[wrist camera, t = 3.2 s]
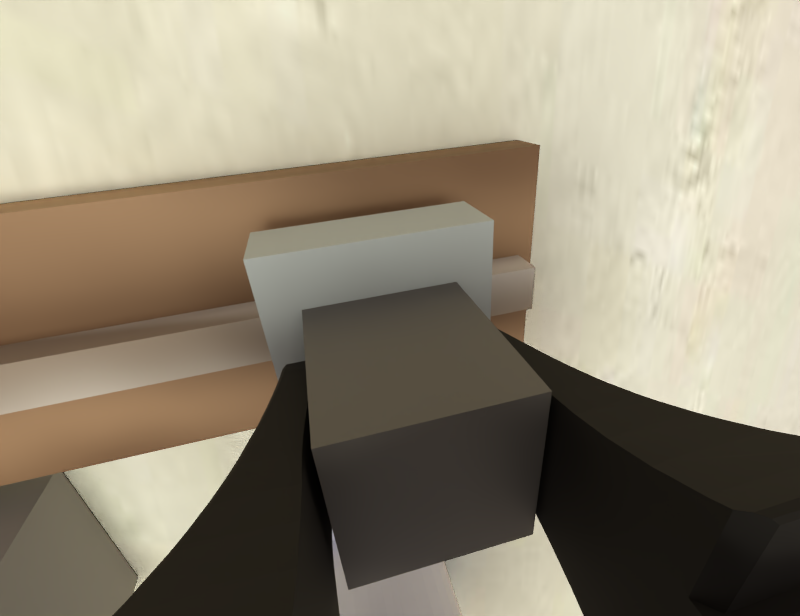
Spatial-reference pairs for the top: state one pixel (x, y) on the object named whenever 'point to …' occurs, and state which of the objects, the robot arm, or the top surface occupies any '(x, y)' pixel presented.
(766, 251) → the top surface
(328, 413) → the carriage
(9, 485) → the gauge cabinet
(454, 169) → the rail track
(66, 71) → the top surface
